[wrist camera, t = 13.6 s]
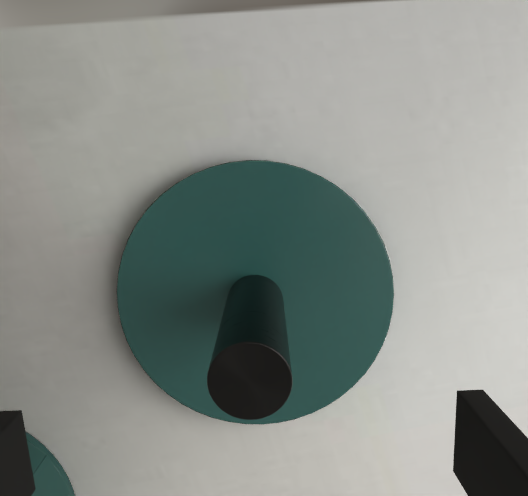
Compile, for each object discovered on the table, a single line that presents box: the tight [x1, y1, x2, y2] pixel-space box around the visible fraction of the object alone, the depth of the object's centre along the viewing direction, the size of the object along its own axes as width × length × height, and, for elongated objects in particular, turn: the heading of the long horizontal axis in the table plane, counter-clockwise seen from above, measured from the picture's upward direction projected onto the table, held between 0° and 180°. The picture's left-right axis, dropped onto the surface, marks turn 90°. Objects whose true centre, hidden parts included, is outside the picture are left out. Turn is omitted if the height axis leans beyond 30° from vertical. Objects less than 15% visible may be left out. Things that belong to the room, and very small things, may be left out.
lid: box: [117, 160, 394, 424], centre depth 21 cm, size 16×16×10 cm
